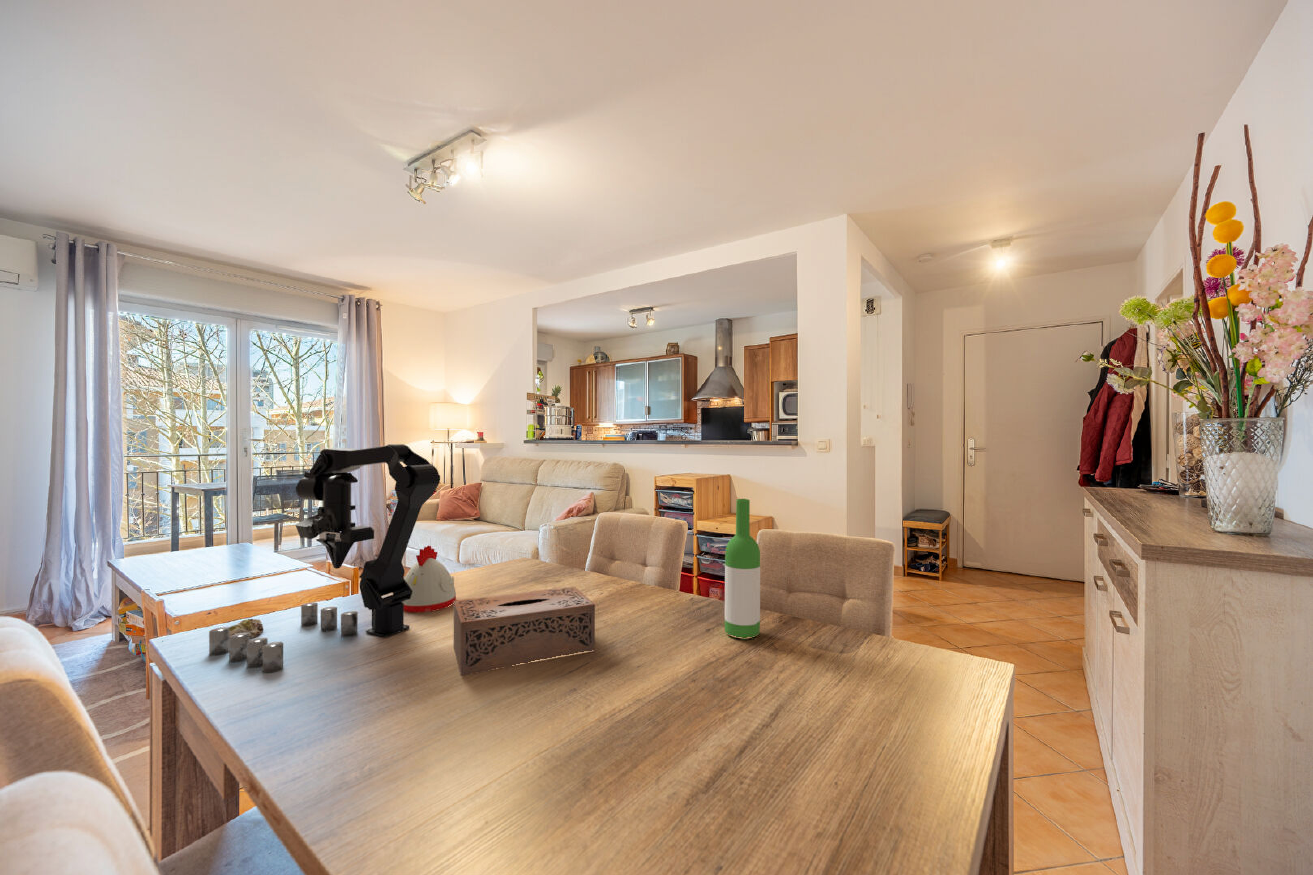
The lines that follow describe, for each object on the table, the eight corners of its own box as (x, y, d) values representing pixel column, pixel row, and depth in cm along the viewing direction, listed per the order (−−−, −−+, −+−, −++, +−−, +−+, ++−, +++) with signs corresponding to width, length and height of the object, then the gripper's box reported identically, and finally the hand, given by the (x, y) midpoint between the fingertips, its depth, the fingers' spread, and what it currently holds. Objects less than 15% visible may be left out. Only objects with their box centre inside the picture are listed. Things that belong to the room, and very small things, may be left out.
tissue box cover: (460, 677, 99) (460, 622, 99) (453, 648, 112) (453, 600, 112) (594, 653, 110) (594, 604, 110) (573, 629, 123) (574, 586, 123)
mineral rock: (233, 619, 122) (268, 609, 123) (239, 637, 123) (274, 627, 123) (196, 639, 112) (235, 628, 112) (203, 659, 112) (242, 647, 112)
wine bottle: (765, 632, 122) (766, 498, 121) (751, 643, 115) (752, 502, 115) (733, 625, 126) (734, 496, 125) (718, 636, 119) (719, 500, 119)
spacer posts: (373, 635, 119) (373, 615, 118) (268, 674, 99) (268, 649, 99) (312, 620, 128) (312, 601, 128) (205, 653, 108) (205, 631, 108)
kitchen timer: (385, 610, 135) (385, 550, 135) (418, 594, 149) (418, 540, 149) (437, 614, 133) (437, 553, 133) (465, 597, 147) (465, 542, 147)
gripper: (276, 503, 124) (276, 571, 124) (329, 508, 116) (329, 581, 116) (324, 498, 134) (324, 561, 134) (376, 502, 126) (376, 569, 126)
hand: (337, 568), depth 127 cm, fingers closed
